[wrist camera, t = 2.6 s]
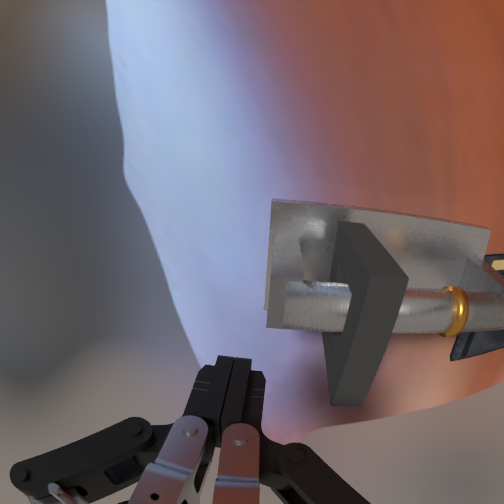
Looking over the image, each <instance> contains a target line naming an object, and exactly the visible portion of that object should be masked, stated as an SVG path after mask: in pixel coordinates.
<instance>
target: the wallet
mask: <svg viewBox="0 0 504 504" xmlns="http://www.w3.org/2000/svg"><path fill="white" fill-rule="evenodd" d="M483 260H484V261H485V262H486V263H488V264H489V265H490V266H491V267H493V268H494V269H495V270H496V271H498V272H499V273H500V274H501V275H502V276H504V254H491V255H485V256H484V259H483ZM501 348H504V329H503V330H493V331H478V332H461V333H460V334H459V335H457V337H456V340H455V343H454V346H453V348H452V351H451V354H450V361H455V360H461V359H465V358H469V357H473V356H477V355H481V354H484V353H488V352H491V351H494V350H498V349H501Z"/></svg>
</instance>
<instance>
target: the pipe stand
mask: <svg viewBox="0 0 504 504" xmlns="http://www.w3.org/2000/svg"><path fill="white" fill-rule="evenodd" d="M338 221H346V222H355V223H364V224H365V225H366V226H367V227H368V229H369V230H370V231H371V232H372V233H373V234H374V236H375V237H376V238H377V239H378V240H379V241H380V243H381V244H382V245H383V246H384V247H385V249H386V250H387V251H388V252H389V254H390V255H391V256H392V257H393V258H394V260H395V261H396V262H397V263H398V265H399V266H400V267H401V268H402V270H403V271H404V272H405V274H406V275H407V276H408V277H409V281H408V284H407V288H406V291H405V295H404V298H403V301H402V304H401V308H400V311H399V314H398V317H397V320H396V323H395V326H394V328H393V331H392V334H432V333H438V334H439V335H441V336H444V337H446V336H457V335H459V334H460V333H461V332H478V331H493V330H503V329H504V276H502V275H501V274H500V273H499V272H498V271H496V270H495V269H494V268H493V267H491V266H490V265H489V264H488V263H486V262H485V261H484V260H483V259H484V256H485V252H486V249H487V245H488V241H489V237H490V233H491V230H490V229H488V228H487V227H485V226H480V225H475V224H469V223H464V222H458V221H453V220H447V219H441V218H435V217H429V216H422V215H416V214H409V213H402V212H395V211H387V210H380V209H372V208H364V207H356V206H347V205H338V204H328V203H318V202H308V201H297V200H285V199H272V204H271V219H270V234H269V249H268V263H267V277H266V290H265V303H264V310H268V314H267V325H266V328H277V329H290V330H305V331H321V332H340V333H342V332H343V328H344V325H345V321H346V317H347V313H348V308H349V304H350V300H351V296H352V294H351V291H350V288H349V286H348V283H335V282H329V278H330V272H331V266H332V260H333V253H334V247H335V240H336V233H337V226H338Z"/></svg>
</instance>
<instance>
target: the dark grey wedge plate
mask: <svg viewBox="0 0 504 504" xmlns="http://www.w3.org/2000/svg"><path fill="white" fill-rule="evenodd" d="M408 281H409V277H408V276H407V275H406V274H405V272H404V271H403V270H402V268H401V267H400V266H399V265H398V263H397V262H396V261H395V260H394V258H393V257H392V256H391V255H390V254H389V252H388V251H387V250H386V249H385V247H384V246H383V245H382V244H381V243H380V241H379V240H378V239H377V238H376V237H375V236H374V234H373V233H372V232H371V231H370V230H369V229H368V227H367V226H366V225H365V224H364V223H355V222H346V221H338V226H337V233H336V240H335V247H334V253H333V260H332V266H331V272H330V278H329V282H335V283H348V286H349V288H350V291H351V294H352V296H351V300H350V304H349V308H348V313H347V317H346V321H345V325H344V328H343V332H342V333H340V332H322V336H323V344H324V351H325V359H326V367H327V376H328V384H329V393H330V403H331V406H361V405H362V403H363V401H364V399H365V397H366V395H367V392H368V390H369V388H370V386H371V384H372V381H373V379H374V377H375V374H376V372H377V370H378V367H379V365H380V363H381V360H382V358H383V355H384V353H385V350H386V347H387V345H388V342H389V339H390V337H391V334H392V331H393V328H394V326H395V323H396V320H397V317H398V314H399V311H400V308H401V304H402V301H403V298H404V295H405V291H406V288H407V284H408Z"/></svg>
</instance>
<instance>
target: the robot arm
mask: <svg viewBox="0 0 504 504" xmlns="http://www.w3.org/2000/svg"><path fill="white" fill-rule="evenodd" d="M251 363H252V359H246V358H238V357H236V358H235V357H229V356H221V355H218V358H217V361H216V364H215V366H212V365H205V366H204V367H203V368H202V369H201V370H200V371H199V372H198V375H197V377H196V380H195V383H194V386H193V389H192V391H191V394H190V397H189V400H188V402H187V405H186V408H185V411H184V414H183V416H182V417H180V418H179V419H177V420H176V421H175V422H174V423H172V424H168V425H150V423H149V422H148V421H146V420H145V419H143V418H140V417H131V418H128V419H125V420H123V421H121V422H119V423H117V424H115V425H112V426H110V427H108V428H106V429H104V430H101V431H100V432H97V433H95V434H92V435H90V436H88V437H85V438H83V439H80V440H78V441H75V442H73V443H71V444H68V445H66V446H63V447H60V448H58V449H55V450H52V451H50V452H47V453H44V454H42V455H39V456H36V457H33V458H30V459H27V460H24V461H21V462H18V463H16V464H14V465H13V466H12V468H11V470H10V479H11V482H12V483H13V485H14V486H15V487H16V488H17V489H19V490H20V491H21V492H23V493H24V494H25V495H26V496H27V497H28V499H29V501H30V503H31V504H89V503H92V502H94V501H97V500H99V499H102V498H104V497H106V496H108V495H111V494H113V493H115V492H117V491H119V490H122V489H124V488H126V487H128V486H130V485H132V484H134V483H136V482H138V481H139V482H138V484H137V486H136V488H135V490H134V492H133V494H132V496H131V498H130V500H128V501H124V502H121V503H118V504H199V502H200V495H201V492H202V489H203V486H204V483H205V480H206V478H207V474H208V472H209V469H210V466H211V463H212V457H213V453H214V449H215V447H219V448H221V450H220V458H219V467H218V476H217V479H216V481H215V487H214V495H213V503H212V504H259V494H260V486H259V485H260V484H259V483H261V484H263V485H266V486H269V487H271V489H272V490H273V492H274V493H275V494H276V495H277V496H278V497H279V498H280V500H281V501H282V502H283V503H284V504H370V503H369V502H368V501H367V500H366V499H365V498H363V497H362V496H361V495H360V494H359V493H358V492H357V491H355V490H354V489H353V488H352V487H351V486H350V485H349V484H347V483H346V482H345V481H344V480H343V479H342V478H341V477H340V476H339V475H338V474H337V473H335V471H333V470H332V469H331V468H330V467H329V466H328V465H327V464H326V463H325V462H324V461H323V460H322V459H321V458H320V457H319V456H318V455H317V454H316V453H315V452H314V451H313V450H312V449H311V448H310V447H308V446H307V445H305V444H302V443H289V444H286V445H282V444H279V443H276V442H274V441H271V440H270V439H268V438H267V437H266V436H265V435H264V434H263V432H262V429H261V420H262V411H263V402H264V392H265V383H266V379H265V377H264V375H263V373H262V371H253V370H251Z"/></svg>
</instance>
